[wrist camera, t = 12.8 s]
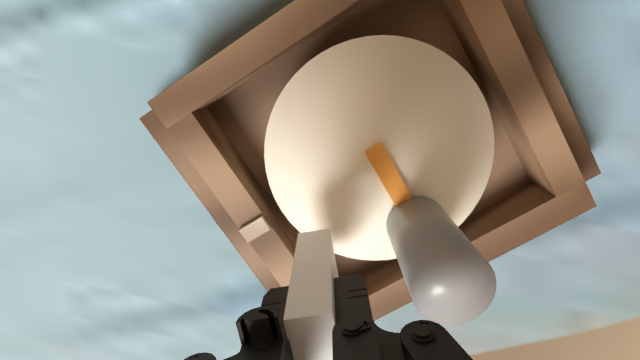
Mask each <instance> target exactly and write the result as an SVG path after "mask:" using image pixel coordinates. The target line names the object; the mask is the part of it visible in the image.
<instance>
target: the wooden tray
mask: <svg viewBox="0 0 640 360" xmlns="http://www.w3.org/2000/svg"><path fill="white" fill-rule="evenodd" d="M375 35H392V36H402V37H407V38H412V39H416V40H418V41H421V42H424V43H427V44H430V45H432V46H433V47H435V48H437V49H439V50H441V51H443V52H445V53H446V54H447V55H449V56H450V57H451V58H453V59H454V60H456V61H457V62H458V63H459V64H460V65H461V66H462V67H463V68H464V69H465V70H466V71H467V72H468V73H469V75H470V76H471V77H472V78H473V80H474V81H475V82H476V84H477V85H478V87H479V89H480V91H481V92H482V94H483V96H484V98H485V100H486V103H487V106H488V108H489V111H490V114H491V119H492V123H493V129H494V140H495V144H494V159H493V164H492V170H491V173H490V176H489V179H488V183H487V185H486V188H485V190H484V192H483V194H482V196H481V198H480V200H479V201H478V203H477V205H476V206H475V208H474V209H473V211H472V212H471V213H470V215H469V216H468V217H467V218H466V219H465V221H464V222H463V223H462V224H461V225H460V226H459V229H460V230H461V231H462V232H463V233H464V235H465V236H466V237H467V238H468V239H469V240H470V242H471V243H472V244H473V245H474V246H475V248H476V249H477V250H478V251H479V252H480V254H481V255H482V256H483V257H484V258H485V259H486V261H487V262H489V261H491V260H493V259H495V258H497V257H499V256H501V255H503V254H505V253H507V252H509V251H511V250H513V249H514V248H516V247H518V246H520V245H522V244H524V243H526V242H528V241H530V240H532V239H534V238H536V237H538V236H540V235H542V234H544V233H546V232H547V231H549V230H551V229H553V228H555V227H557V226H559V225H561V224H563V223H565V222H567V221H569V220H571V219H573V218H575V217H577V216H578V215H580V214H582V213H584V212H586V211H588V210H590V209H592V208H594V207H596V204H595V202H594V200H593V197H592V195H591V193H590V191H589V189H588V187H587V184H586V182H585V181H587V180H589V179H591V178H593V177H595V176H597V175H599V174H601V172H600V170H599V168H598V165H597V163H596V161H595V159H594V156H593V154H592V152H591V150H590V148H589V145H588V143H587V141H586V139H585V137H584V134H583V132H582V130H581V128H580V125H579V123H578V121H577V119H576V117H575V114H574V112H573V110H572V108H571V106H570V103H569V101H568V99H567V97H566V94H565V92H564V90H563V88H562V86H561V83H560V81H559V79H558V77H557V75H556V72H555V70H554V68H553V66H552V63H551V61H550V59H549V57H548V55H547V52H546V50H545V48H544V46H543V44H542V41H541V39H540V37H539V35H538V32H537V30H536V28H535V26H534V24H533V21H532V19H531V17H530V15H529V13H528V10H527V8H526V6H525V4H524V1H523V0H294V1H292V2H291V3H290V4H288V5H287V6H285V7H284V8H282V9H281V10H279V11H278V12H277V13H275V14H274V15H272V16H271V17H269V18H268V19H267V20H265V21H264V22H262V23H261V24H259V25H258V26H256V27H255V28H254V29H252V30H251V31H249V32H248V33H246V34H245V35H243V36H242V37H241V38H239V39H238V40H236V41H235V42H233V43H232V44H230V45H229V46H228V47H226V48H225V49H223V50H222V51H220V52H219V53H217V54H216V55H215V56H213V57H212V58H210V59H209V60H207V61H206V62H204V63H203V64H202V65H200V66H199V67H197V68H196V69H194V70H193V71H191V72H190V73H189V74H187V75H186V76H184V77H183V78H181V79H180V80H178V81H177V82H176V83H174V84H173V85H171V86H170V87H168V88H167V89H166V90H164V91H163V92H161V93H160V94H158V95H157V96H155V97H154V98H153V99H151V100H150V101H148V102H147V103H148V104H149V105H150V107H151V108H152V110H151V111H150V112H148V113H147V114H145V115H144V116H142V117H141V118H139V119H140V120H141V121H142V123H143V124H144V125H145V127H146V128H147V129H148V131H149V132H150V134H151V135H152V136H153V138H154V139H155V140H156V142H157V143H158V144H159V146H160V147H161V148H162V150H163V151H164V152H165V154H166V155H167V157H168V158H169V159H170V161H171V162H172V163H173V165H174V166H175V167H176V169H177V170H178V171H179V173H180V174H181V175H182V177H183V178H184V179H185V181H186V182H187V184H188V185H189V186H190V188H191V189H192V190H193V192H194V193H195V194H196V196H197V197H198V198H199V200H200V201H201V202H202V204H203V205H204V206H205V208H206V209H207V211H208V212H209V213H210V215H211V216H212V217H213V219H214V220H215V221H216V223H217V224H218V225H219V227H220V228H221V229H222V231H223V232H224V234H225V235H226V236H227V238H228V239H229V240H230V242H231V243H232V244H233V246H234V247H235V248H236V250H237V251H238V252H239V254H240V255H241V256H242V258H243V259H244V261H245V262H246V263H247V265H248V266H249V267H250V269H251V270H252V271H253V273H254V274H255V275H256V277H257V278H258V279H259V281H260V282H261V283H262V285H263V286H264V288H265V289H266V290H267V292H268V291H269V290H270V289H271V288H277V287H284V286H289V283H290V278H291V272H292V266H293V260H294V254H295V248H296V242H297V237H298V233H300V232H299V231H298V230H297V229H296V228H295V227H294V226H293V225H292V224H291V223H290V222H289V220H288V219H287V218H286V216H285V215H284V214H283V212H282V211H281V209H280V207H279V206H278V204H277V202H276V200H275V198H274V196H273V193H272V191H271V188H270V186H269V182H268V178H267V174H266V169H265V160H264V142H265V136H266V129H267V125H268V122H269V118H270V115H271V112H272V110H273V108H274V105H275V103H276V101H277V99H278V97H279V95H280V94H281V92H282V91H283V89H284V87H285V86H286V84H287V83H288V82H289V81H290V80H291V78H292V77H293V76H294V75H295V73H296V72H298V71H299V70H300V69H301V68H302V67H303V66H304V65H305V64H306V63H307V62H308V61H310V60H311V59H313V58H314V57H315V56H317V55H318V54H320V53H321V52H323V51H325V50H327V49H329V48H331V47H333V46H335V45H337V44H340V43H343V42H345V41H348V40H351V39H356V38H360V37H365V36H375ZM334 254H335V253H334ZM335 259H336V265H337V270H338V276H339V277H343V276H350V275H356V274H359V275H360V276H361V277H362V278H363V279H365V281H366V286H367V291H368V296H369V302H370V307H371V312H372V317H373V321H375V320H377V319H379V318H381V317H383V316H385V315H386V314H388V313H390V312H392V311H394V310H396V309H398V308H400V307H402V306H404V305H406V304H408V303H410V302H412V298H411V296H410V293H409V290H408V287H407V285H406V282H405V279H404V277H403V274H402V271H401V268H400V266H399V263H398V260H397V259H391V260H378V261H372V260H359V259H354V258H348V257H345V256H342V255H338V254H335Z"/></svg>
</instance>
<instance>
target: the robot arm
mask: <svg viewBox="0 0 640 360" xmlns="http://www.w3.org/2000/svg"><path fill="white" fill-rule="evenodd" d="M236 325H237V329H238V333H239V337H240V340H241V344H242V347H241V350H240V352H239V353H238V354H236V355H234V356H232V357H229V358H227V359H224V360H473V359H472V358H471V357H470V356H469V355H468V354H467V353H466V352H465V351H464V349H463V348H462V347H461V346H460V345H459V344H458V343H457V342H456V341H455V339H454V338H453V337H452V336H451V335H450V334H449V333H448V332H447V331H446V329H445V328H444V327H442V326H441V325H440V324H438V323H435V322H432V321H427V320H419V321H413V322H411V323H409V324H407V325H405V326H404V327H403V328H402V329H401V333H393V332H388V331H385V330H382V329H381V328H379V327H378V326H377V325H376V324H375V323H374V321H373V317H372V312H371V307H370V302H369V296H368V291H367V286H366V281H365V279H363V278H362V277H361V276H360V275H359V274H356V275H350V276H343V277H339V276H338V270H337V265H336V259H335V254H334V248H333V243H332V237H331V232H330V228H329V229H322V230H316V231H310V232H304V233H298V237H297V242H296V248H295V254H294V260H293V266H292V272H291V278H290V283H289V286H284V287H277V288H271V289H270V290H269V291H268V292H267V293H266V294H265V296H264V297H263V301H262V304H261V307H258V308H255V309H251V310H249V311H247V312H245V313H244V314H243V315H242V316H240V317H239V318H238V320H237V322H236ZM184 360H216V357H215V356H214V355H212V354H210V353H197V354H194V355H192V356H189V357H188V358H186V359H184Z"/></svg>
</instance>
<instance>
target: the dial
mask: <svg viewBox="0 0 640 360" xmlns="http://www.w3.org/2000/svg"><path fill="white" fill-rule="evenodd" d="M494 144H495V140H494V129H493V123H492V119H491V114H490V111H489V108H488V106H487V103H486V100H485V98H484V96H483V94H482V92H481V91H480V89H479V87H478V85H477V84H476V82H475V81H474V80H473V78H472V77H471V76H470V75H469V73H468V72H467V71H466V70H465V69H464V68H463V67H462V66H461V65H460V64H459V63H458V62H457V61H456V60H454V59H453V58H451V57H450V56H449V55H447V54H446V53H445V52H443V51H441V50H439V49H437V48H435V47H433V46H432V45H430V44H427V43H424V42H421V41H418V40H416V39H412V38H407V37H402V36H392V35H375V36H365V37H360V38H356V39H351V40H348V41H345V42H343V43H340V44H337V45H335V46H333V47H331V48H329V49H327V50H325V51H323V52H321V53H320V54H318V55H317V56H315V57H314V58H313V59H311V60H310V61H308V62H307V63H306V64H305V65H304V66H303V67H302V68H301V69H300V70H299V71H298V72H296V73H295V75H294V76H293V77H292V78H291V80H290V81H289V82H288V83H287V84H286V86H285V87H284V89H283V91H282V92H281V94H280V95H279V97H278V99H277V101H276V103H275V105H274V108H273V110H272V112H271V115H270V118H269V122H268V125H267V129H266V136H265V142H264V160H265V169H266V174H267V178H268V182H269V186H270V188H271V191H272V193H273V196H274V198H275V200H276V202H277V204H278V206H279V207H280V209H281V211H282V212H283V214H284V215H285V216H286V218H287V219H288V220H289V222H290V223H291V224H292V225H293V226H294V227H295V228H296V229H297V230H298V231H299V232H300V233H304V232H310V231H316V230H322V229H329V228H330V232H331V237H332V243H333V248H334V253H335V254H338V255H342V256H345V257H348V258H354V259H359V260H372V261H378V260H391V259H397V260H398V263H399V266H400V268H401V271H402V274H403V277H404V279H405V282H406V285H407V287H408V290H409V293H410V296H411V298H412V301H413V303H414V305H415V307H416V309H417V310H418V311H419V312H420V313H421V314H422V315H423V316H424V317H425V318H427V319H429V320H431V321H433V322H436V323H439V324H445V325H456V324H461V323H465V322H468V321H470V320H472V319H474V318H476V317H477V316H479V315H480V314H482V313H483V312H484V311H485V310H486V309H487V308H488V306H489V305H490V303H491V302H492V300H493V298H494V295H495V291H496V277H495V273H494V271H493V269H492V267H491V266H490V264H489V263H488V262H487V261H486V259H485V258H484V257H483V256H482V255H481V254H480V252H479V251H478V250H477V249H476V248H475V246H474V245H473V244H472V243H471V242H470V240H469V239H468V238H467V237H466V236H465V235H464V233H463V232H462V231H461V230H460V229H459V226H460V225H461V224H462V223H463V222H464V221H465V219H466V218H467V217H468V216H469V215H470V213H471V212H472V211H473V209H474V208H475V206H476V205H477V203H478V201H479V200H480V198H481V196H482V194H483V192H484V190H485V188H486V185H487V183H488V179H489V176H490V173H491V170H492V164H493V159H494Z"/></svg>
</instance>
